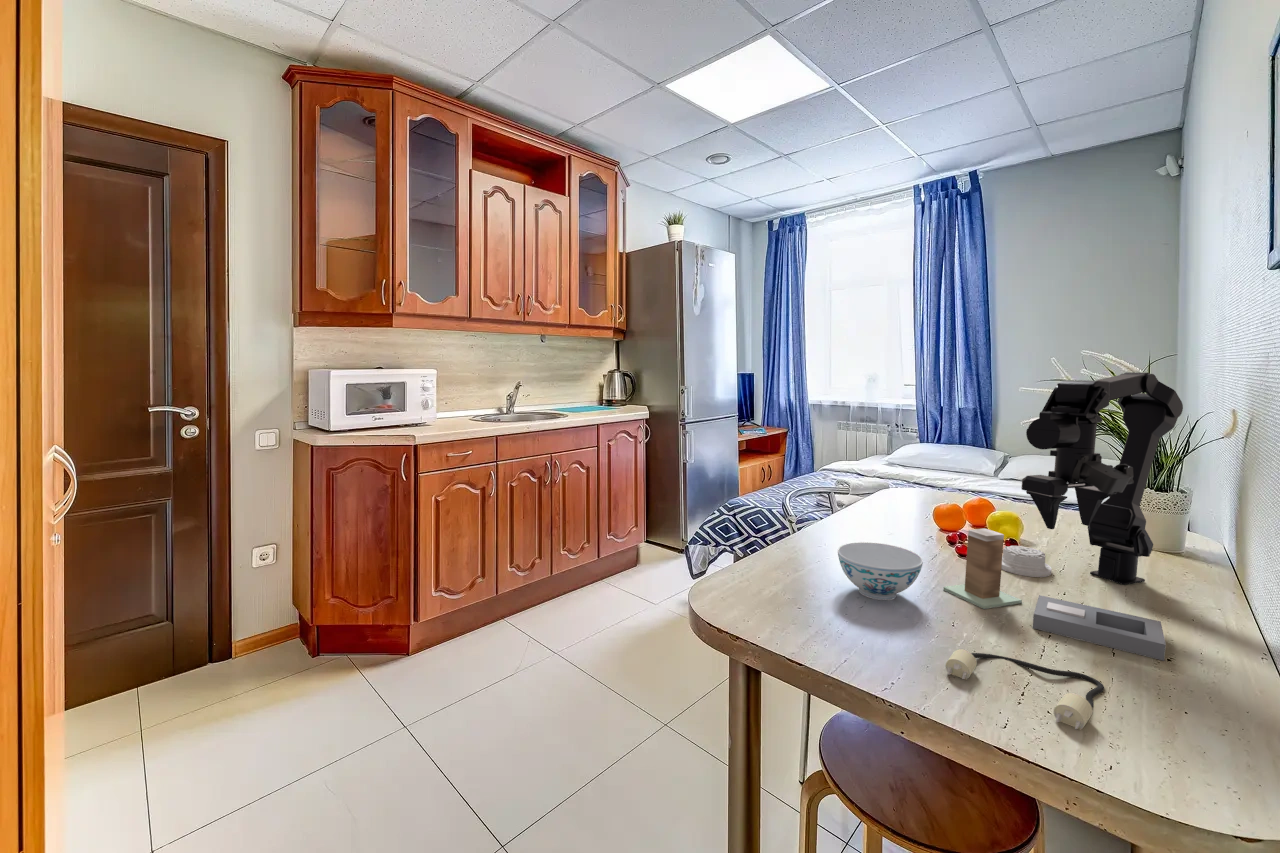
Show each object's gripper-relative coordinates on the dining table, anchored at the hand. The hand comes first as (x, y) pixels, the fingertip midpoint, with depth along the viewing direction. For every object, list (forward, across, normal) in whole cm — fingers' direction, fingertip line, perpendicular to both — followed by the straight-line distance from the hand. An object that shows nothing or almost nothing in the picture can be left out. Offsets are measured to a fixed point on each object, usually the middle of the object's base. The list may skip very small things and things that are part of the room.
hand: (1068, 527), depth 105 cm
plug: (+12, -17, +3) cm, 21 cm away
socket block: (+13, -12, -14) cm, 22 cm away
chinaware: (+13, -35, +10) cm, 39 cm away
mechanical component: (+14, +5, +12) cm, 19 cm away
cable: (+14, -37, -21) cm, 45 cm away
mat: (+13, -17, +3) cm, 22 cm away
